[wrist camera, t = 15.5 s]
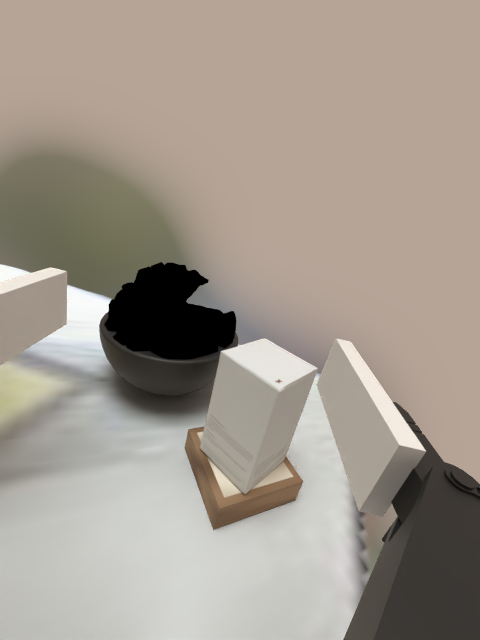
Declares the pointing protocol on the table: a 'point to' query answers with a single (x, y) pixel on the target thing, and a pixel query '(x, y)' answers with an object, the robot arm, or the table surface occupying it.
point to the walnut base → (226, 497)
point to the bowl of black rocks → (165, 332)
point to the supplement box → (254, 410)
